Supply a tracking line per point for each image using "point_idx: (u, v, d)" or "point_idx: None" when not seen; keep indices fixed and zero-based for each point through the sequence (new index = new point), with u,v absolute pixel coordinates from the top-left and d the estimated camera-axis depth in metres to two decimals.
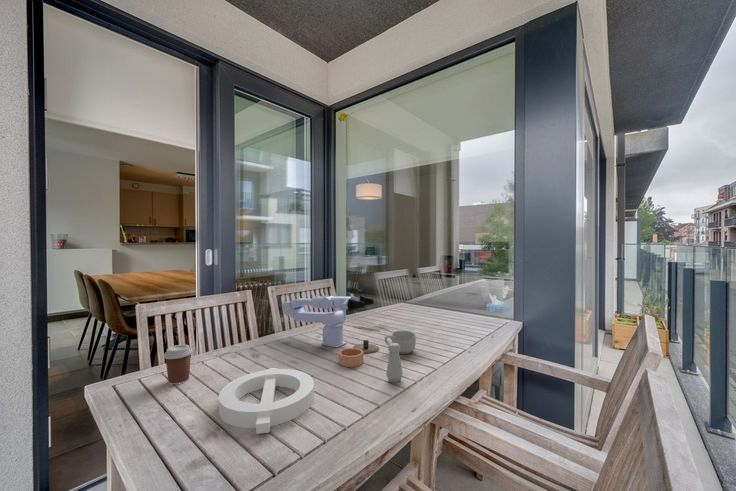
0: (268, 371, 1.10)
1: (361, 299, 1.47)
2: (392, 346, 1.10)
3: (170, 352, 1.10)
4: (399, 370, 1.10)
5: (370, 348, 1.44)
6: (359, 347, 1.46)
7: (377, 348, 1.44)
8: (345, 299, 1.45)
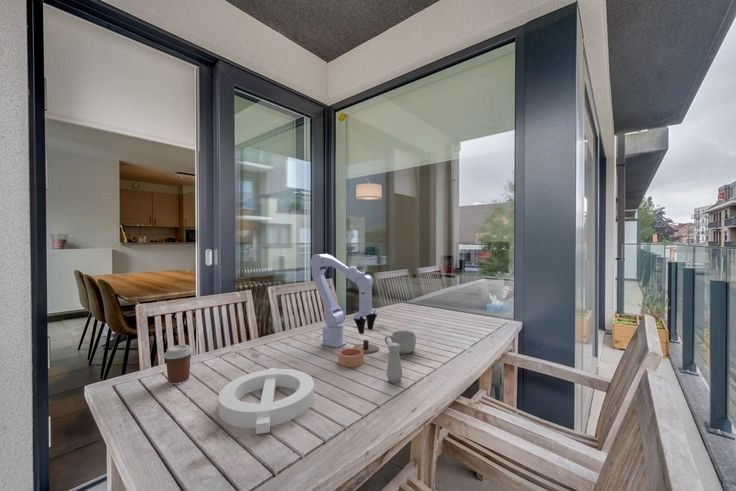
0: (268, 371, 1.10)
1: (371, 316, 1.47)
2: (392, 346, 1.10)
3: (170, 352, 1.10)
4: (399, 370, 1.10)
5: (370, 348, 1.44)
6: (359, 347, 1.46)
7: (377, 348, 1.44)
8: (366, 308, 1.41)
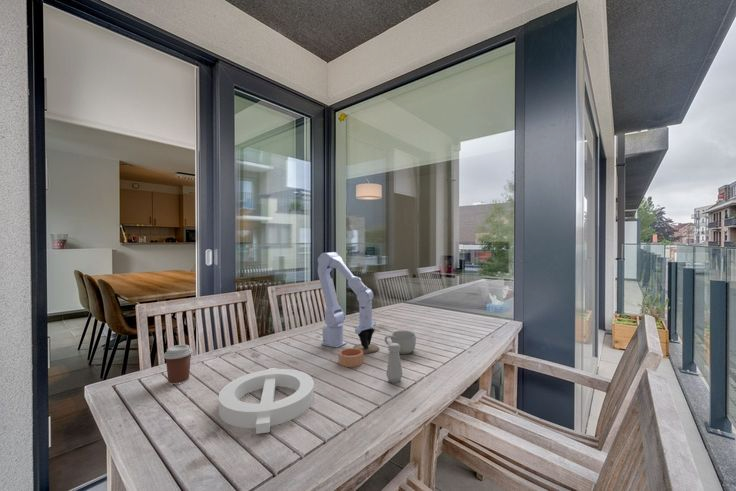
0: (268, 371, 1.10)
1: (369, 331, 1.45)
2: (392, 346, 1.10)
3: (170, 352, 1.10)
4: (399, 370, 1.10)
5: (370, 348, 1.44)
6: (359, 347, 1.46)
7: (377, 348, 1.44)
8: (366, 322, 1.42)
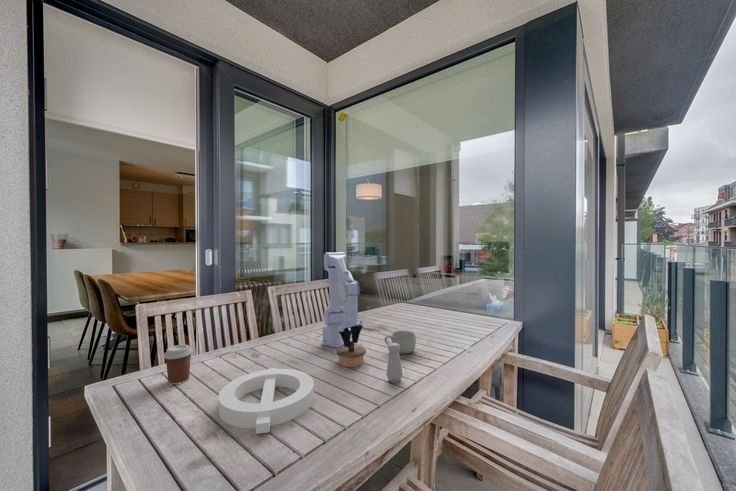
0: (268, 371, 1.10)
1: (356, 328, 1.31)
2: (392, 346, 1.10)
3: (170, 352, 1.10)
4: (399, 370, 1.10)
5: (355, 351, 1.28)
6: (344, 349, 1.30)
7: (364, 351, 1.28)
8: (351, 319, 1.26)
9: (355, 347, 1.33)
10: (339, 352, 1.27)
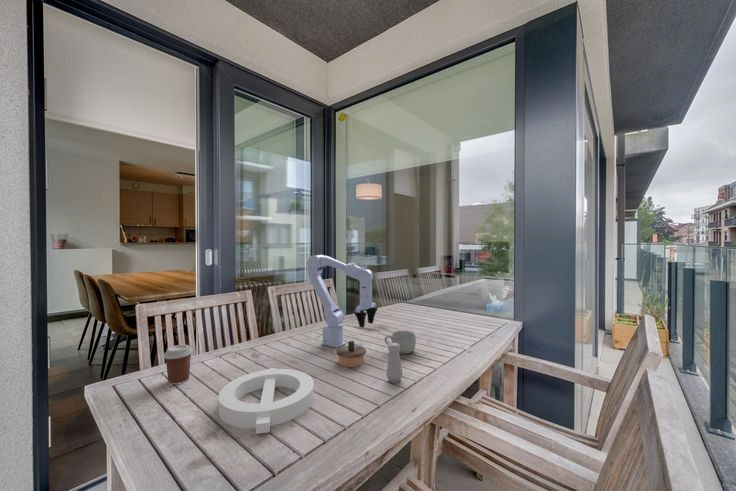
0: (268, 371, 1.10)
1: (372, 310, 1.49)
2: (392, 346, 1.10)
3: (170, 352, 1.10)
4: (399, 370, 1.10)
5: (355, 351, 1.28)
6: (344, 349, 1.30)
7: (364, 351, 1.28)
8: (367, 302, 1.44)
9: (355, 347, 1.33)
10: (339, 352, 1.27)
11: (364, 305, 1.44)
